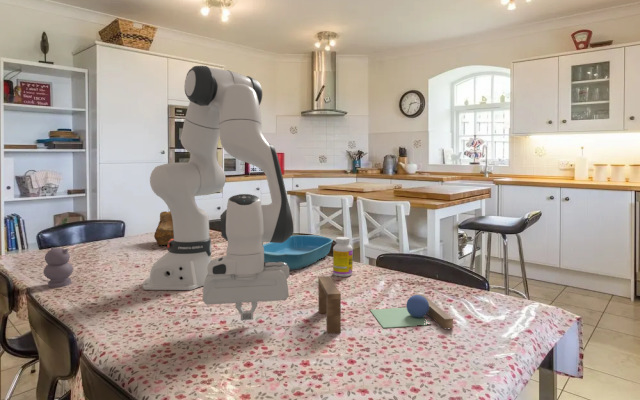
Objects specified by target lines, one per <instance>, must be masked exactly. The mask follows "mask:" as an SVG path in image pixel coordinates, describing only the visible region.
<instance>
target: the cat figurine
mask: <svg viewBox="0 0 640 400" xmlns="http://www.w3.org/2000/svg"><path fill="white" fill-rule="evenodd" d="M44 260H45V263H46V264H47V265H46V266H44V269H43V275H44V276H45V278H47V279H48V281H47V286H48V287H49V288H53V289H54V288H62V287H66V286H70V285H72V278H70V276H71V275H72V274H73V271H74V267H73V265H72V264H71V263H70V262H69V261H70V253H69V248H68V247H67V248H62V247H51V248H50V250H48V251H47V252H46V254H45V255H44Z"/></svg>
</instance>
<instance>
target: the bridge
mask: <svg viewBox="0 0 640 400" xmlns="http://www.w3.org/2000/svg"><path fill="white" fill-rule="evenodd" d="M317 280H318V282H317V283H318V286H317V287H318V290H317V292H318V314H321V315H322V314H324V315H325V314H326V317H325V318H326V332H327V334H340V333H342V332H341V331H342V328H341V326H342V322H341V321H342V319H341V318H342V315H341V313H342V312H341V311H342V310H341V309H342V308H341V307H342V305H341V304H342V302H341V301H342V298H341V297H342V294H341V292H340V290H339V288H338V287H337V286H336V284H335V282H334V281H333V279H332V277H331V276H330V275H328V276H327V275H326V276H325V275H324V276H318V279H317Z"/></svg>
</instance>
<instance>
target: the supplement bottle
mask: <svg viewBox="0 0 640 400" xmlns="http://www.w3.org/2000/svg"><path fill="white" fill-rule="evenodd" d="M350 239H351V238H350V237H347V236H337V237H336V238H335V243H336V244H335V245H333V247H332V251H333V252H332V253H333V254H332V256H333V258H332V259H333V260H332V264H333V265H332V267H333V268H332V271H333V273H332V274H333V275H334V276H336V277H340V278H341V277H342V278H343V277H344V278H346V277H350V276H352V274H353V247H352V245H351V244H350V241H351V240H350Z"/></svg>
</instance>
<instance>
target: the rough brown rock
mask: <svg viewBox="0 0 640 400" xmlns="http://www.w3.org/2000/svg"><path fill="white" fill-rule="evenodd" d="M153 237H154V239H155V241H156V245H157V246H159V245H164V246H166V245H168V241H169V240H170V239H174V230H173V220H172V215H171V212H170V210H169V211H161V212H160V214H159V221H158V225H157V228H156V229H155V232H154V236H153Z"/></svg>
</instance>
